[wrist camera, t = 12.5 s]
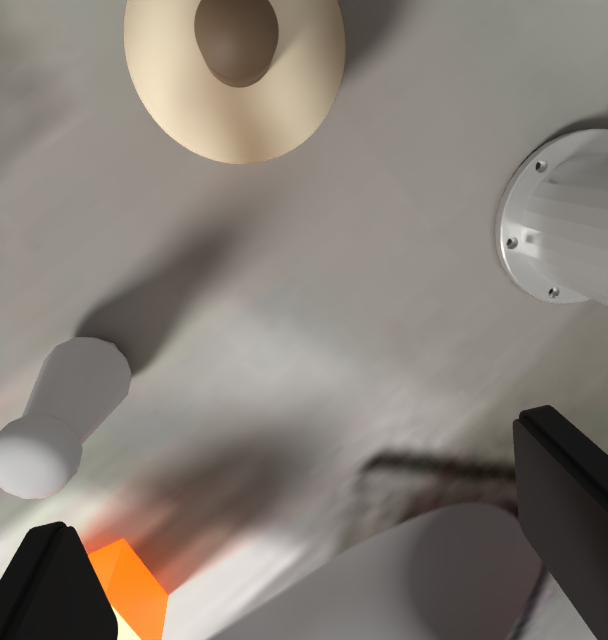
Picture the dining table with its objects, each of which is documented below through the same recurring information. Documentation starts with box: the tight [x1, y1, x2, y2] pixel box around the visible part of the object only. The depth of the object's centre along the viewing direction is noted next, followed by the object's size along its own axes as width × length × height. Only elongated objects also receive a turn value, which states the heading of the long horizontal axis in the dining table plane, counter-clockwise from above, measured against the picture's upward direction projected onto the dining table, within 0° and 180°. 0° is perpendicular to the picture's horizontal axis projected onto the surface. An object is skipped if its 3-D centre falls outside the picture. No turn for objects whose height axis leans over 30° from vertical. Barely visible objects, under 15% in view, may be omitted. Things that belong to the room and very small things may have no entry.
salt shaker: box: [0, 337, 132, 499], centre depth 31 cm, size 6×6×13 cm
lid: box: [124, 0, 346, 164], centre depth 23 cm, size 11×11×5 cm
